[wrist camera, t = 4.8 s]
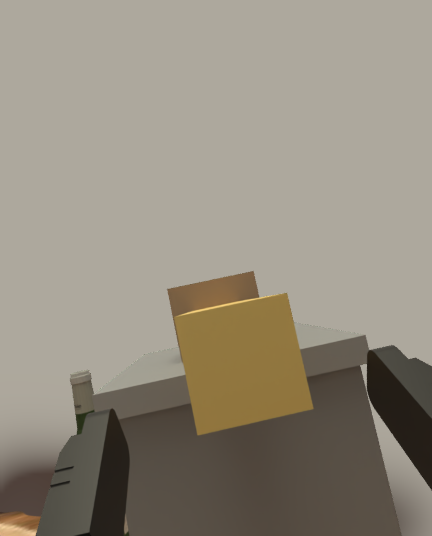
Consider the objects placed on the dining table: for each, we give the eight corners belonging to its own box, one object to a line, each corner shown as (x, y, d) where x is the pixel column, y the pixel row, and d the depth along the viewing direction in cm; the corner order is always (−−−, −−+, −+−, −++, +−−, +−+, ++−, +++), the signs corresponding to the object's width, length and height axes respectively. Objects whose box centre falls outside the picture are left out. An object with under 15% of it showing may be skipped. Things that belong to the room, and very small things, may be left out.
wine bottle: (158, 592, 49) (116, 364, 52) (99, 634, 44) (57, 381, 47) (133, 566, 55) (97, 364, 58) (79, 601, 50) (43, 379, 53)
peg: (363, 397, 10) (320, 220, 11) (145, 447, 10) (111, 263, 10) (257, 336, 31) (244, 277, 31) (186, 351, 31) (174, 292, 31)
